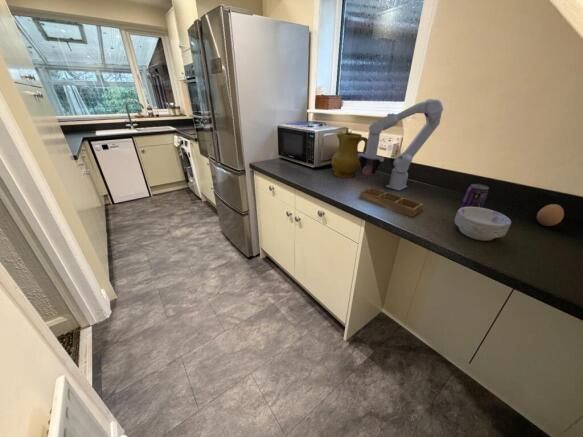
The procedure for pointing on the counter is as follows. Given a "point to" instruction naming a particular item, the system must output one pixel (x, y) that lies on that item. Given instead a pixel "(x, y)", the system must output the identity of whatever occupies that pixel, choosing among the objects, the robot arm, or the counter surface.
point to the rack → (391, 201)
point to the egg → (550, 215)
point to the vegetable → (367, 169)
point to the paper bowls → (481, 223)
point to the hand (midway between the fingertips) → (368, 172)
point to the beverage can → (475, 196)
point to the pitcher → (347, 154)
